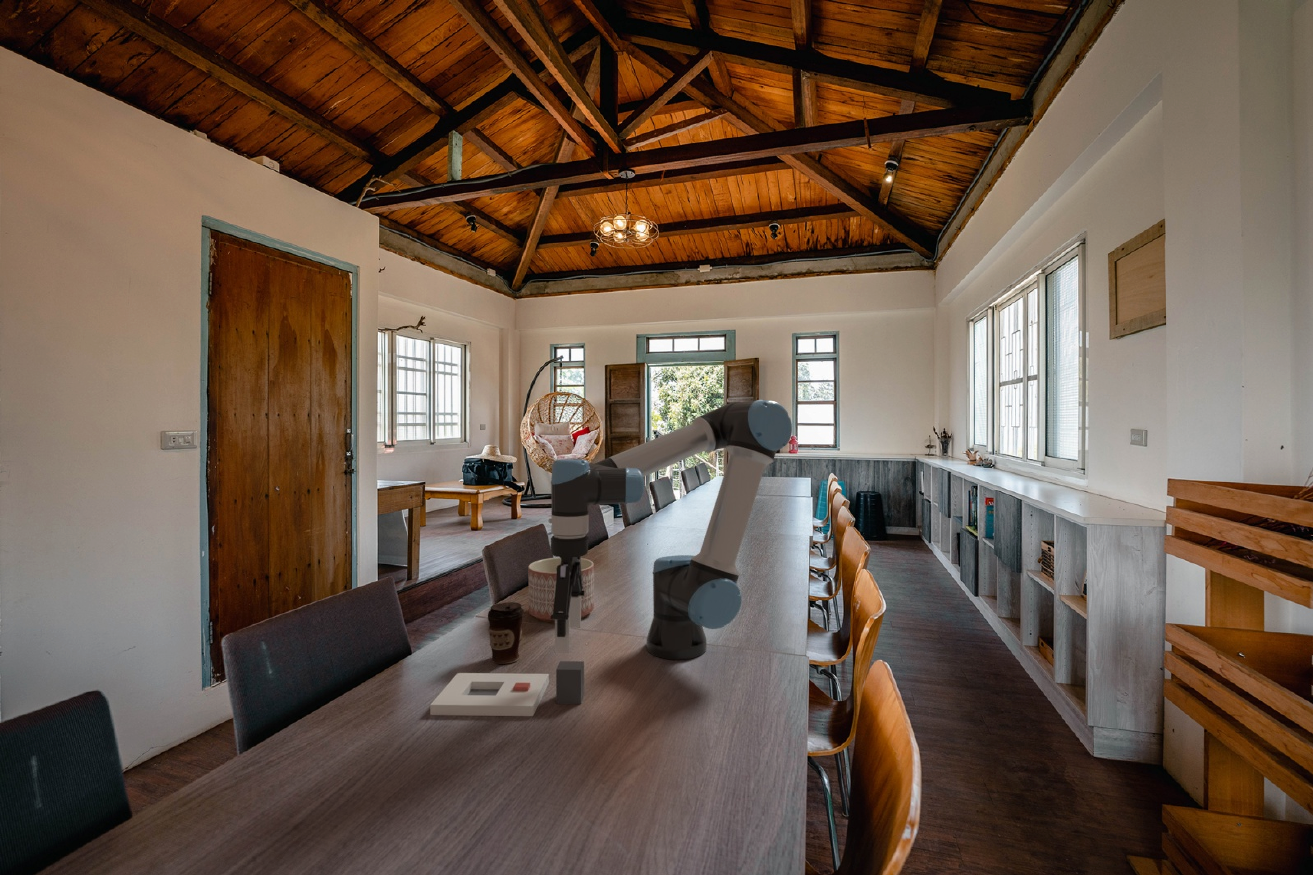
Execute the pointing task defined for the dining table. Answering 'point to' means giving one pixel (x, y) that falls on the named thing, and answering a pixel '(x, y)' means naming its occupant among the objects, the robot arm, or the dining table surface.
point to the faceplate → (491, 694)
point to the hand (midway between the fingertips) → (568, 639)
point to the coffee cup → (505, 631)
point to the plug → (570, 682)
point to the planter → (545, 583)
